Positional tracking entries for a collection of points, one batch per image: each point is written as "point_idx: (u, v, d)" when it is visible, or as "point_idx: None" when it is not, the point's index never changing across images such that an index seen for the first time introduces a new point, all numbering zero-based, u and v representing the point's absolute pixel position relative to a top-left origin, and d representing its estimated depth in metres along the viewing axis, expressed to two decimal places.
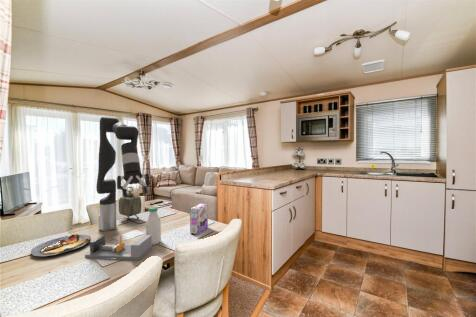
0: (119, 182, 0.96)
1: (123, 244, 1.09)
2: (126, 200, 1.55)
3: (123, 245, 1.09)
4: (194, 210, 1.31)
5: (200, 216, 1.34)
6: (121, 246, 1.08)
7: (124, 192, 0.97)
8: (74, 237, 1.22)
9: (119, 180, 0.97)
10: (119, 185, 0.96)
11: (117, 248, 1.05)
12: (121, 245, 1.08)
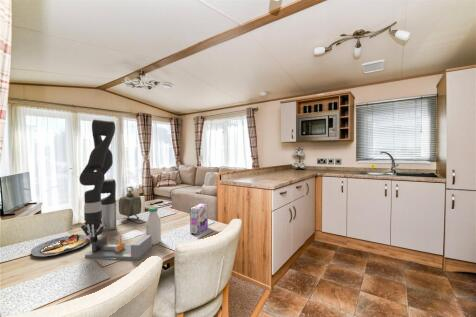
0: (84, 231, 1.08)
1: (123, 244, 1.09)
2: (126, 200, 1.55)
3: (123, 245, 1.09)
4: (194, 210, 1.31)
5: (200, 216, 1.34)
6: (121, 246, 1.08)
7: None
8: (74, 237, 1.22)
9: (83, 229, 1.08)
10: (86, 233, 1.08)
11: (117, 248, 1.05)
12: (121, 245, 1.08)
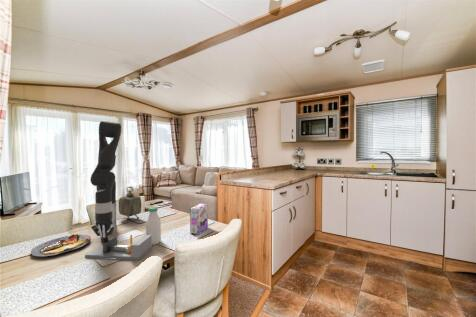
0: (95, 231, 1.08)
1: None
2: (126, 200, 1.55)
3: None
4: (194, 210, 1.31)
5: (200, 216, 1.34)
6: None
7: (101, 239, 1.08)
8: (74, 237, 1.22)
9: (94, 230, 1.08)
10: (96, 233, 1.07)
11: (128, 249, 1.05)
12: None
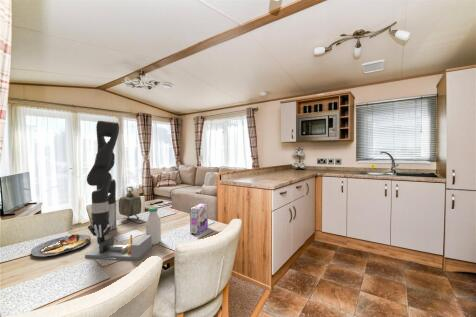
0: (91, 231, 1.08)
1: None
2: (126, 200, 1.55)
3: None
4: (194, 210, 1.31)
5: (200, 216, 1.34)
6: None
7: None
8: (74, 237, 1.22)
9: (90, 230, 1.08)
10: (93, 233, 1.08)
11: (128, 249, 1.05)
12: None
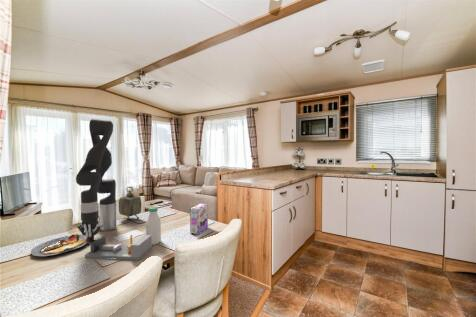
0: (81, 231, 1.09)
1: None
2: (126, 200, 1.55)
3: None
4: (194, 210, 1.31)
5: (200, 216, 1.34)
6: None
7: (87, 239, 1.09)
8: (74, 237, 1.22)
9: (80, 229, 1.09)
10: (82, 233, 1.09)
11: (128, 249, 1.05)
12: None
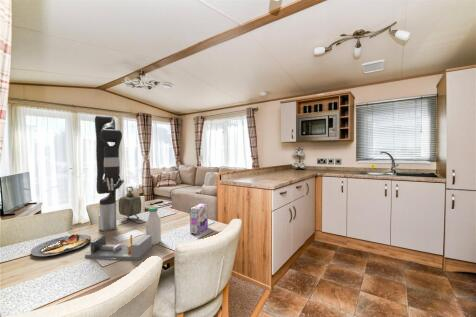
0: (104, 185, 1.16)
1: None
2: (126, 200, 1.55)
3: None
4: (194, 210, 1.31)
5: (200, 216, 1.34)
6: None
7: None
8: (74, 237, 1.22)
9: (103, 183, 1.16)
10: (105, 187, 1.16)
11: (128, 249, 1.05)
12: None
